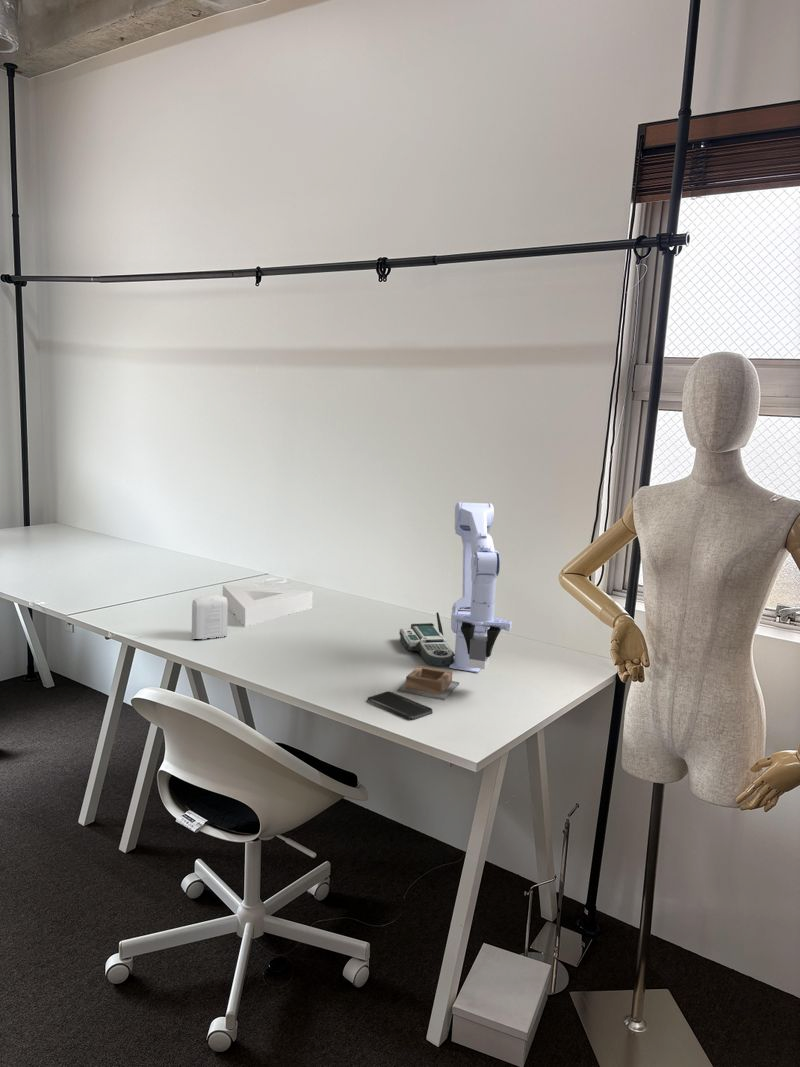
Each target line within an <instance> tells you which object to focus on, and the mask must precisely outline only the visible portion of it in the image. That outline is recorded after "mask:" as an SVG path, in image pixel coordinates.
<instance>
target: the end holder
mask: <svg viewBox="0 0 800 1067" xmlns="http://www.w3.org/2000/svg"><path fill="white" fill-rule="evenodd" d="M459 685H460V682H459V681H454V680H453V671H451V670H445V669H439V668H434V667H428V666H422V665H417V667H415V669H413V670H412V671H411V672H410V673H409V674H408V675H406V677H405V682H404V683H403V684H402V685H401V686H400V687H398V688H397V692H401V693H406V694H411V695H417V696H421V697H427V698H433V699H436V700H437V699H439V700H442V701H445V700H446V699H448V696H450V695H451V694H452V692H454V690H455V689H457V687H458V686H459Z"/></svg>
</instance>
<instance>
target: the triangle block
mask: <svg viewBox="0 0 800 1067" xmlns="http://www.w3.org/2000/svg"><path fill="white" fill-rule="evenodd" d="M313 593H314V592H313V591H312V590H298V589H284V588H273V587H268V588H267V587H256V586H240V585H227V584H226V585H224V584H222V596H224V597H226V598H227V602H228V608H229V609H230V610H231V611H232V612H233V613H234V614H235V615H236V617H237V618H238V619H239V620H240V621H241V622H242V623H241V622H240V621H239V620H238V619H237V618H236V619H237V620H238V621H239V622H240V623H241V625H242V626H243V625H244V626H245V627H244V628H247V627H246V626H248V627H250V626H249V625H252V626H254V625H253V624H255V625H257V624H256V623H259V624H261V623H260V622H263V623H265V622H264V621H266V622H268V621H267V620H270V621H272V620H271V619H273V620H275V619H274V618H277V619H279V618H278V617H280V618H282V617H281V616H284V617H286V616H285V615H287V616H289V615H288V614H291V615H293V614H292V613H294V614H296V612H298V613H300V611H301V612H304V611H303V610H305V611H308V610H311V608H312V609H313ZM229 609H228V610H229ZM307 609H308V610H307ZM230 610H229V611H230ZM231 611H230V612H231ZM232 612H231V613H232ZM233 613H232V614H233ZM234 614H233V615H234ZM235 615H234V616H235Z"/></svg>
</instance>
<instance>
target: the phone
mask: <svg viewBox="0 0 800 1067" xmlns="http://www.w3.org/2000/svg"><path fill="white" fill-rule="evenodd" d="M366 702H367V703H368V702H369V704H370V703H371V704H370V705H373V706H376V707H377V708H380V709H383V710H385V711H387V712H389V713H392V714H393V715H395V716H398V717H400V718H403V719H406V720H407V721H415V720H417V719H420V718H423V717H427V716H429V715H432V714H433V708H432V707H429V706H427V705H424V704H422V703H420V702H417V701H415V700H413V699H412V700H411V699H410V698H407V697H404V696H403V695H400V694H398V693H395V692H392V691H384V692H381V693H380V692H379V693H378V694H373V695H371V696H368V697H367V700H366Z"/></svg>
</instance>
